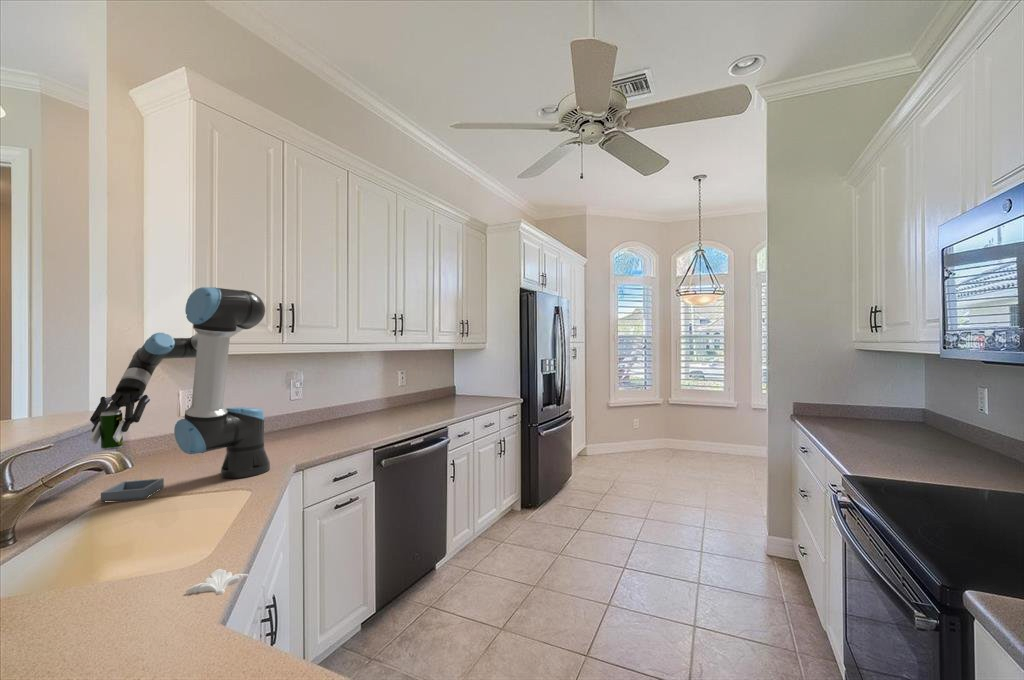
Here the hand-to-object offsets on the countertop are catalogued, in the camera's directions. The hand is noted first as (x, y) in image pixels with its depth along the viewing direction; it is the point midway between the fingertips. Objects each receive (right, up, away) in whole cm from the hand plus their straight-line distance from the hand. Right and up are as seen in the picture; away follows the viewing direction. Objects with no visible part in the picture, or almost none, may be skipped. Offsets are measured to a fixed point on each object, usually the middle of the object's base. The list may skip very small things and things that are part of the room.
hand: (104, 440), depth 141 cm
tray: (+13, -16, -4) cm, 21 cm away
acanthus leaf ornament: (+73, -16, -56) cm, 93 cm away
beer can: (-1, -4, +4) cm, 5 cm away
